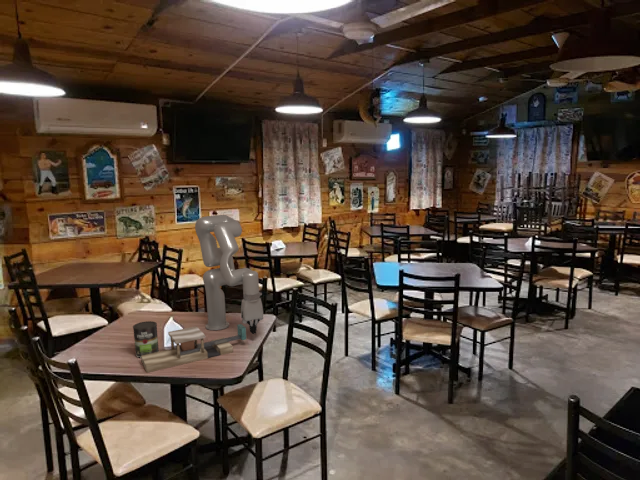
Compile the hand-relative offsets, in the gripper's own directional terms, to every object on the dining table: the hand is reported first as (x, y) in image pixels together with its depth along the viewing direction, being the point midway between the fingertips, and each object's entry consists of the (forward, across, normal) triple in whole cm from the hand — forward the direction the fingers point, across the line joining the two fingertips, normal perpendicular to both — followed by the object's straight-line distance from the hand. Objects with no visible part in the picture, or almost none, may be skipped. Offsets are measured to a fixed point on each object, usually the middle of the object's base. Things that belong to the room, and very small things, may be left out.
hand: (253, 332), depth 220 cm
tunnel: (+5, +32, 0) cm, 32 cm away
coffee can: (+5, +47, -15) cm, 50 cm away
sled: (+1, +21, 0) cm, 21 cm away
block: (+2, +32, 0) cm, 32 cm away
